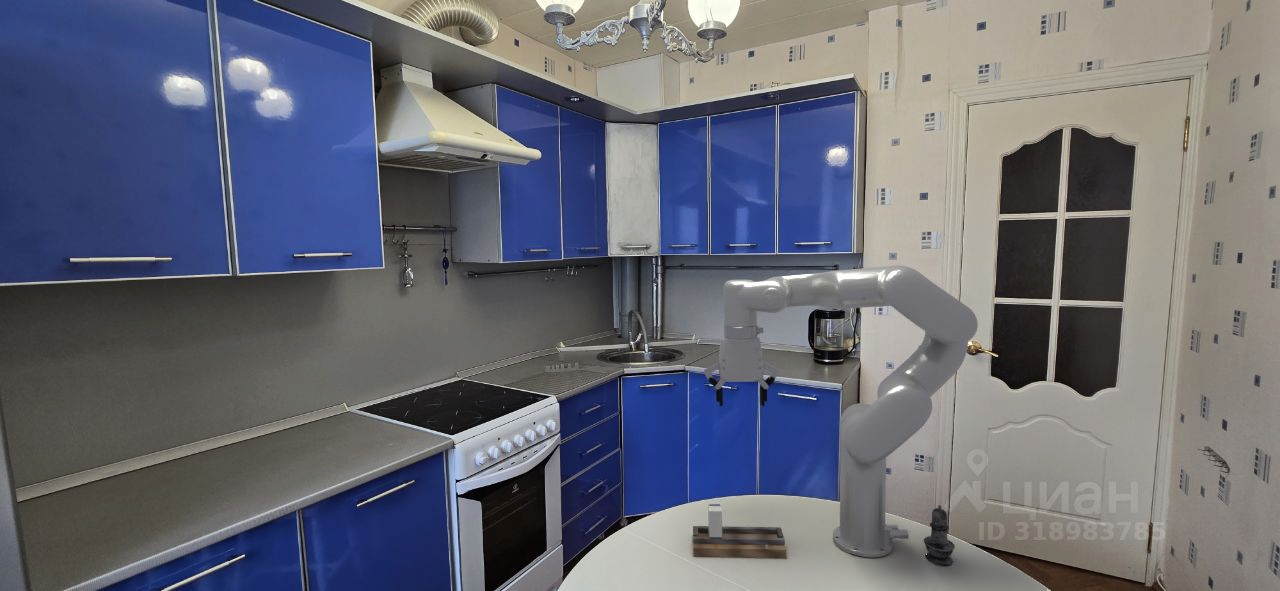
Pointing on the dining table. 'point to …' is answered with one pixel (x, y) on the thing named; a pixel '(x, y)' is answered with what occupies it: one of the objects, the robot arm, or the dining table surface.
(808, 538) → the dining table surface
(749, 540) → the wooden tray
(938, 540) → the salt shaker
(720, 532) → the block
